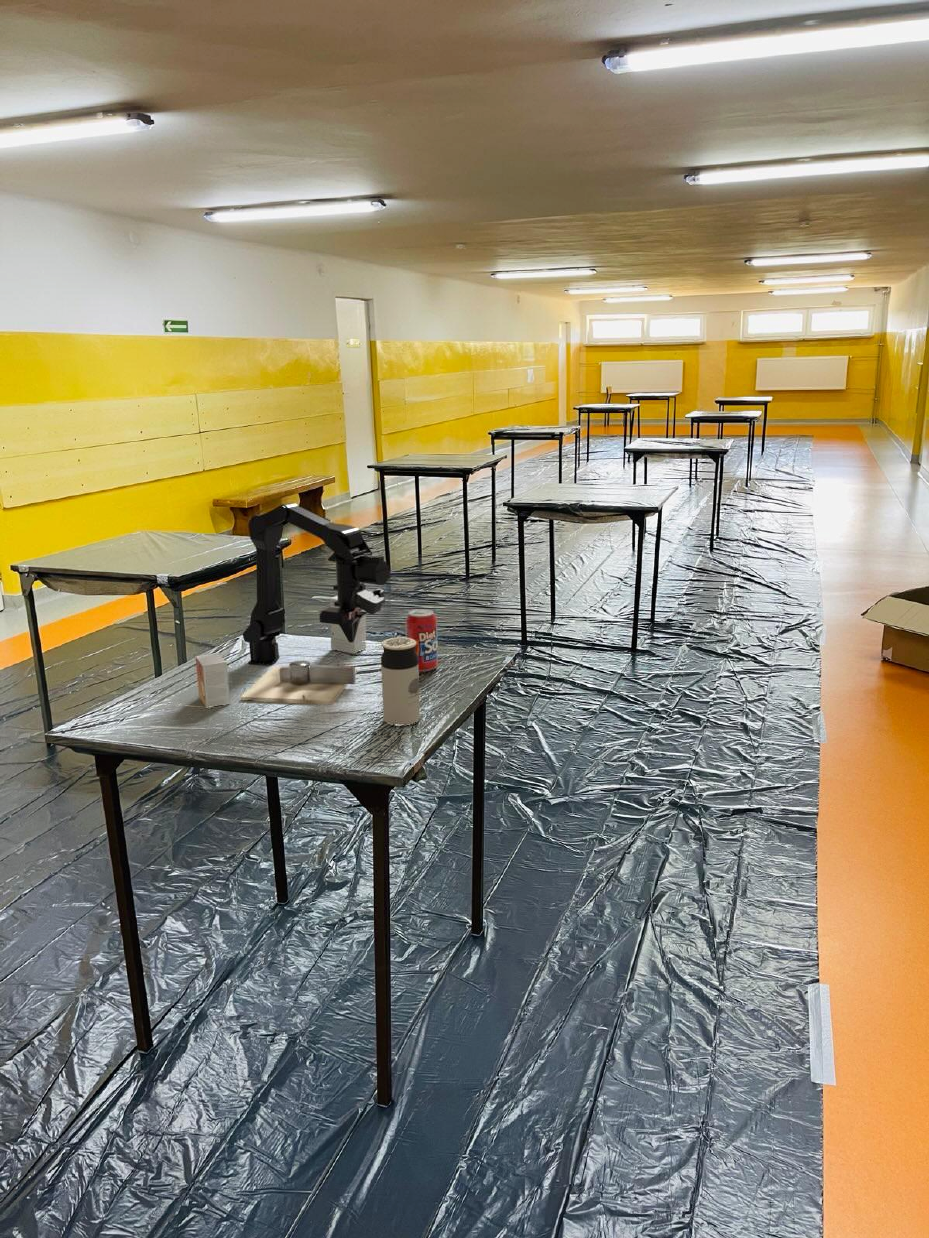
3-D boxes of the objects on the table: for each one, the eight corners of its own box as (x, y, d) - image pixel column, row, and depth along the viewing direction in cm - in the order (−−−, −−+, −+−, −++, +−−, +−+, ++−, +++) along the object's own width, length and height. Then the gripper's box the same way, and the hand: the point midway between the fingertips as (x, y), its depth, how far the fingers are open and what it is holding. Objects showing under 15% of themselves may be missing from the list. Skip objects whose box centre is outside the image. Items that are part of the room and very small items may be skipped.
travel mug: (376, 720, 192) (372, 642, 187) (403, 710, 197) (400, 634, 192) (400, 730, 186) (397, 650, 181) (427, 719, 192) (425, 641, 187)
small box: (199, 698, 206) (194, 655, 203) (223, 693, 209) (219, 652, 206) (206, 709, 199) (201, 665, 196) (230, 704, 202) (226, 661, 199)
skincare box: (330, 650, 239) (327, 598, 235) (343, 644, 244) (340, 592, 240) (356, 654, 235) (353, 601, 231) (368, 648, 241) (366, 596, 236)
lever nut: (277, 683, 211) (276, 666, 210) (284, 676, 216) (283, 659, 214) (352, 686, 208) (351, 669, 207) (357, 679, 213) (356, 662, 212)
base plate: (240, 700, 204) (240, 696, 204) (274, 669, 225) (273, 665, 225) (331, 704, 201) (331, 700, 201) (357, 672, 222) (356, 668, 221)
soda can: (409, 663, 228) (407, 608, 224) (438, 663, 228) (437, 607, 224) (405, 673, 221) (403, 616, 216) (436, 673, 220) (435, 616, 216)
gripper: (358, 592, 199) (361, 657, 203) (396, 574, 215) (398, 635, 219) (316, 588, 203) (320, 651, 207) (357, 570, 219) (359, 630, 224)
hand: (351, 641), depth 214 cm, fingers closed
